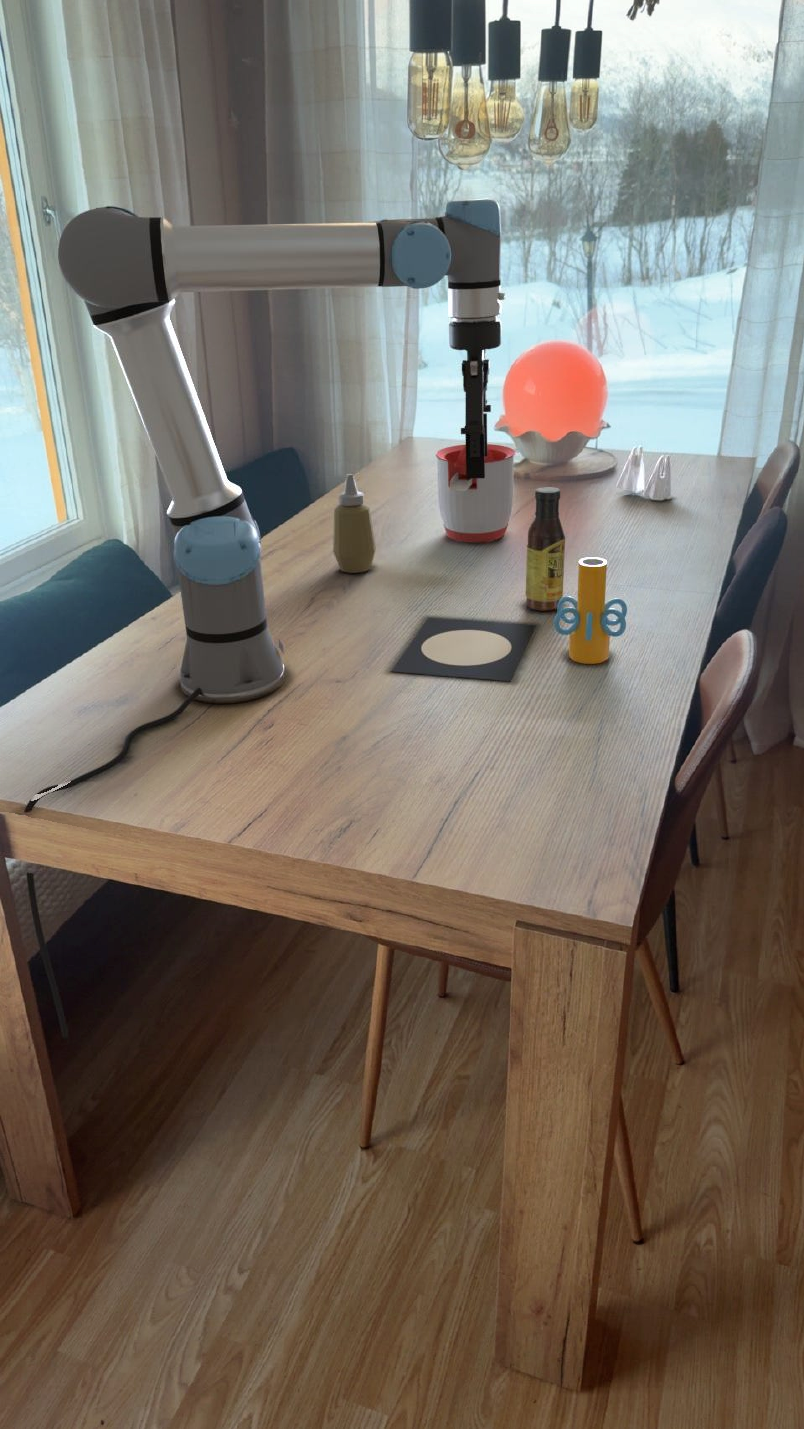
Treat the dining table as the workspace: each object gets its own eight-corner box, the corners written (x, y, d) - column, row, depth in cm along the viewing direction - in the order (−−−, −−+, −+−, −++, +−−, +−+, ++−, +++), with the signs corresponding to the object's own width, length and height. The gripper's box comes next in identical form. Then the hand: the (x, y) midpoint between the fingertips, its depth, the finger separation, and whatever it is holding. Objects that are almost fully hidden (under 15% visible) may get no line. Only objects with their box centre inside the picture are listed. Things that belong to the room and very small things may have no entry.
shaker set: (614, 495, 239) (617, 446, 234) (623, 491, 242) (626, 442, 237) (663, 502, 232) (666, 452, 227) (672, 498, 235) (675, 448, 230)
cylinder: (623, 675, 153) (629, 577, 146) (551, 672, 155) (553, 575, 148) (624, 642, 164) (630, 549, 157) (557, 639, 166) (559, 547, 159)
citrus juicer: (422, 546, 211) (419, 445, 202) (454, 521, 225) (452, 426, 216) (496, 553, 205) (496, 450, 196) (524, 528, 219) (525, 430, 210)
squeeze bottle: (385, 567, 200) (381, 473, 192) (355, 578, 195) (349, 482, 187) (355, 559, 205) (350, 466, 197) (325, 570, 200) (318, 475, 192)
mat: (510, 681, 153) (510, 681, 153) (391, 671, 157) (391, 671, 157) (535, 625, 171) (535, 624, 171) (428, 618, 176) (428, 617, 176)
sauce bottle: (552, 615, 175) (556, 497, 166) (519, 609, 178) (520, 493, 169) (569, 602, 180) (573, 487, 171) (535, 596, 183) (538, 483, 174)
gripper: (499, 329, 140) (500, 487, 149) (502, 308, 162) (503, 447, 171) (443, 331, 140) (447, 488, 150) (453, 310, 163) (456, 448, 172)
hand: (477, 466), depth 161 cm, fingers open, 13 cm apart
